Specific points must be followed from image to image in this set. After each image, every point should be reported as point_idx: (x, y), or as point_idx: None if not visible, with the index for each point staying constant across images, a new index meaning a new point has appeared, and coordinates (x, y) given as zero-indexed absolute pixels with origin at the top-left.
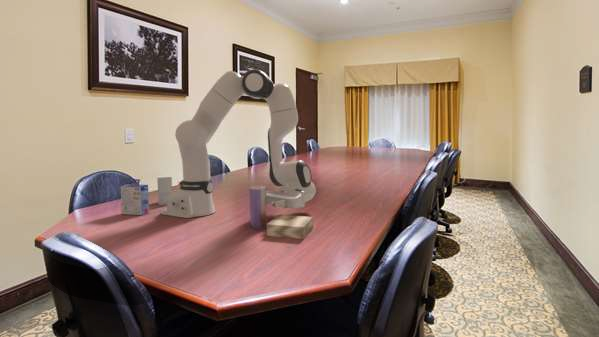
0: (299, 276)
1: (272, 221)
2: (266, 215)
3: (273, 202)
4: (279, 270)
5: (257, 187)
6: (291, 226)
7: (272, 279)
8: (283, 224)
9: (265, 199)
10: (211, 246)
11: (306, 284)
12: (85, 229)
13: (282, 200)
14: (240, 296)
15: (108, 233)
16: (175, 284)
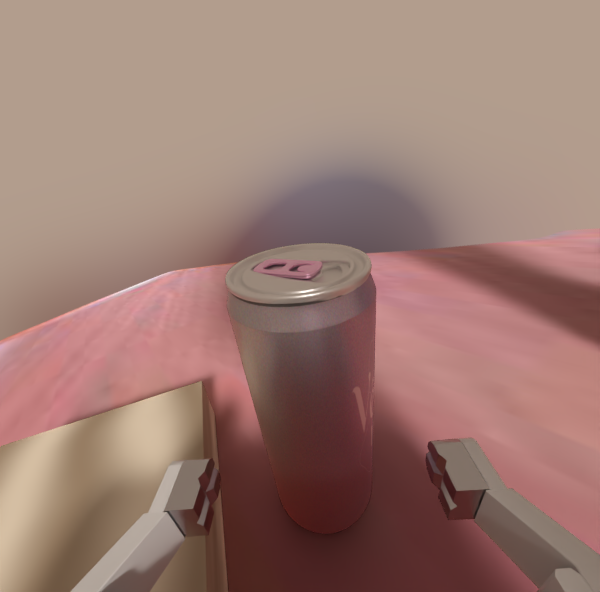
0: (79, 323)
1: (191, 422)
2: (272, 468)
3: (205, 459)
4: (118, 319)
5: (292, 263)
6: (74, 423)
7: (125, 304)
8: (119, 420)
9: (244, 370)
10: None
11: (69, 317)
12: (570, 241)
13: (98, 585)
14: (156, 280)
15: (516, 252)
16: None
